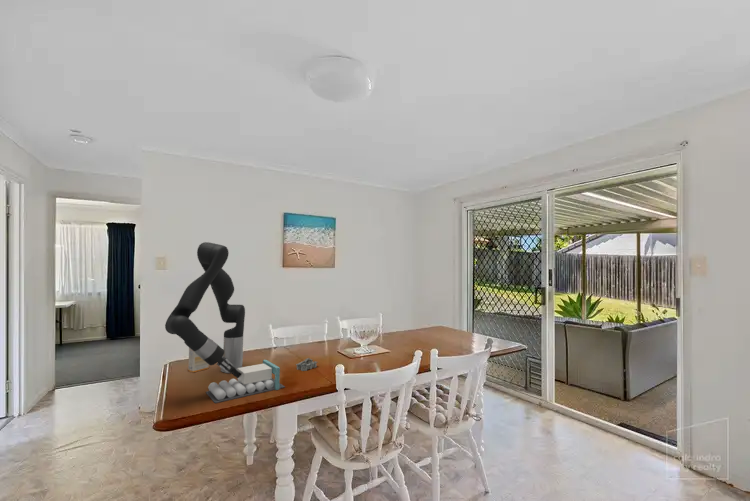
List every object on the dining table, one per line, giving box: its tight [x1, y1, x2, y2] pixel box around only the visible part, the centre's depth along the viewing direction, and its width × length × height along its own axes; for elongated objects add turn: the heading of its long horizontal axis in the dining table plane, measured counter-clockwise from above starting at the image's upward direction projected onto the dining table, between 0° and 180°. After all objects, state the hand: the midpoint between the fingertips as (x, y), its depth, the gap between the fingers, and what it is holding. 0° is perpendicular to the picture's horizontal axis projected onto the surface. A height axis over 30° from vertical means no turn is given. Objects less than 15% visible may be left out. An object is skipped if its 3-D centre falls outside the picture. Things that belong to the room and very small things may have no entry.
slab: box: [236, 363, 273, 384], centre depth 151 cm, size 12×9×4 cm
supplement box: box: [187, 347, 210, 373], centre depth 175 cm, size 8×5×13 cm, turn 146°
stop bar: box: [262, 359, 281, 391], centre depth 155 cm, size 2×16×9 cm, turn 39°
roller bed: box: [205, 377, 286, 404], centre depth 148 cm, size 29×14×4 cm, turn 129°
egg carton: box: [295, 357, 319, 372], centre depth 181 cm, size 11×8×4 cm
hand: (239, 375), depth 147 cm, fingers closed
